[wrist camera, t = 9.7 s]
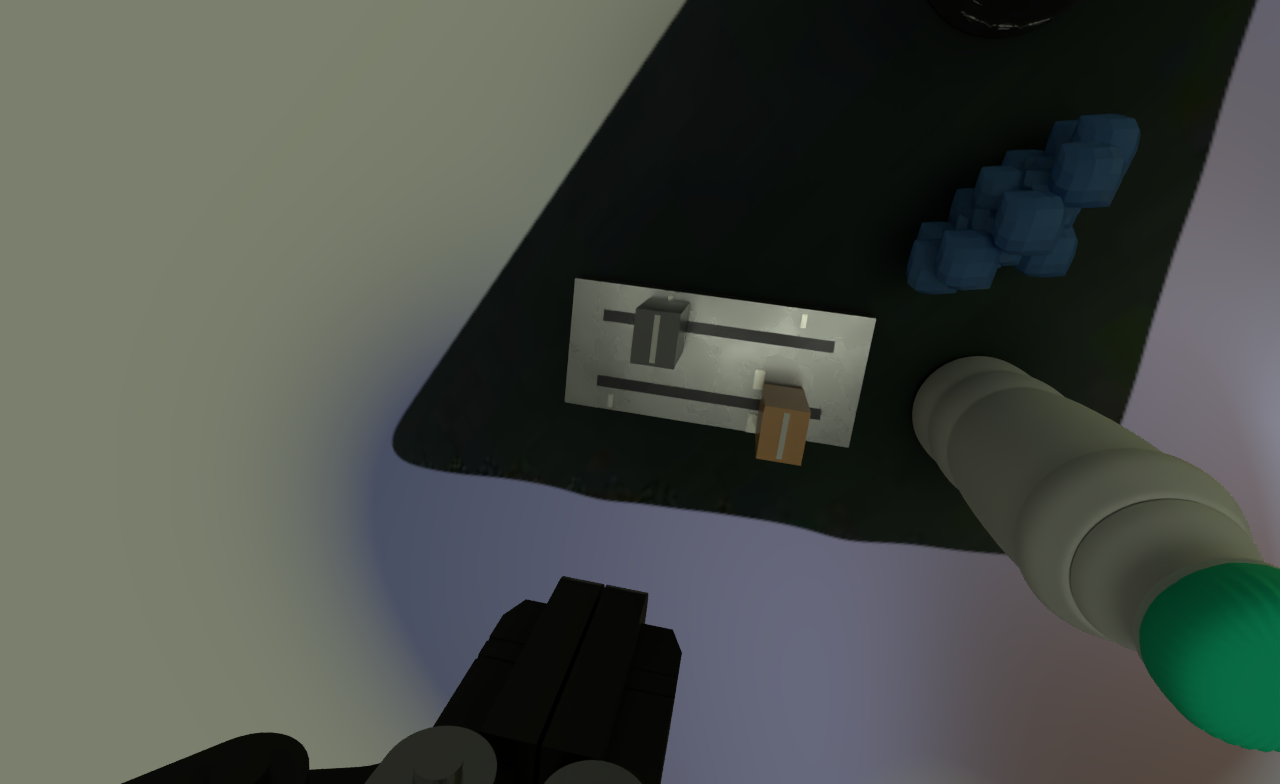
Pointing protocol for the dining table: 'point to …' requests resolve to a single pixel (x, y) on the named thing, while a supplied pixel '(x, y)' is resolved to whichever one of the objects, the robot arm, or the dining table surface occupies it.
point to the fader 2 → (782, 424)
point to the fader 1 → (659, 333)
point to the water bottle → (1116, 539)
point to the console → (719, 358)
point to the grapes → (1025, 208)
